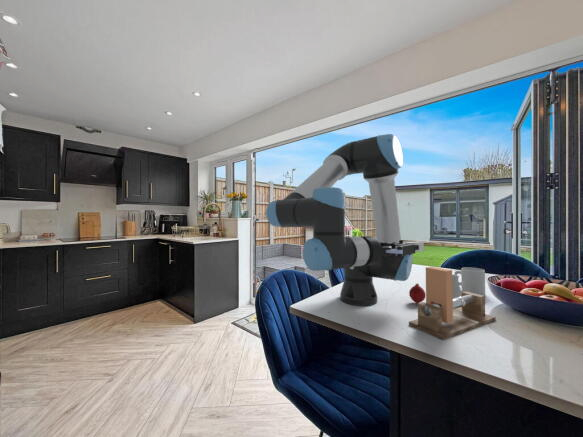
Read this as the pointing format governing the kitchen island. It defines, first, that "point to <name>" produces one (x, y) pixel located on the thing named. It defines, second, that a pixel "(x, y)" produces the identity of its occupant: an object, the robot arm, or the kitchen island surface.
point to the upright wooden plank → (440, 290)
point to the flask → (456, 287)
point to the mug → (472, 280)
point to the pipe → (454, 303)
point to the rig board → (461, 322)
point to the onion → (417, 293)
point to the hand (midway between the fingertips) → (421, 246)
